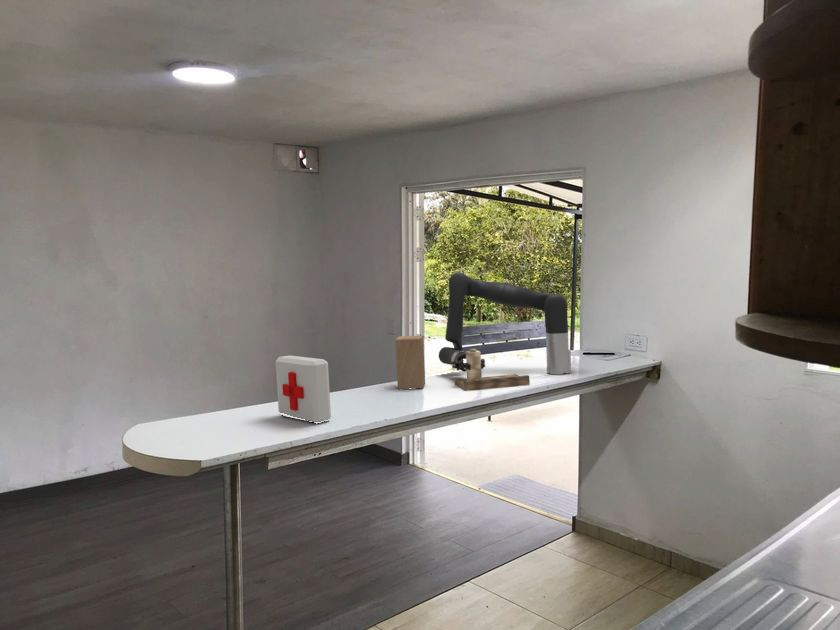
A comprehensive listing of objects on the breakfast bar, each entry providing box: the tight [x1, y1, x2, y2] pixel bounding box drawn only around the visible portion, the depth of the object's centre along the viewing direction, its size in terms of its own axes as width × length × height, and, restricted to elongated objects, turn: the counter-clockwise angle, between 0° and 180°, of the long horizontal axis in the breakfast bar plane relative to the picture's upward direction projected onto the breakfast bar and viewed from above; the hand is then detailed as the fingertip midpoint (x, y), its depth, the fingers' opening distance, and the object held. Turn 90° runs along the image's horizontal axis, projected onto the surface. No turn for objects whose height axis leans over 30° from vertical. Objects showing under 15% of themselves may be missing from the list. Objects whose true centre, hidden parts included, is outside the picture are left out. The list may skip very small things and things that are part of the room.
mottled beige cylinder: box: [465, 348, 482, 380], centre depth 254 cm, size 4×4×13 cm
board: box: [454, 373, 531, 392], centre depth 259 cm, size 26×14×4 cm, turn 104°
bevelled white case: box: [275, 355, 332, 422], centre depth 214 cm, size 21×8×20 cm, turn 46°
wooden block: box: [395, 335, 426, 390], centre depth 261 cm, size 10×10×20 cm
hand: (476, 366), depth 252 cm, fingers closed on mottled beige cylinder, 4 cm apart
